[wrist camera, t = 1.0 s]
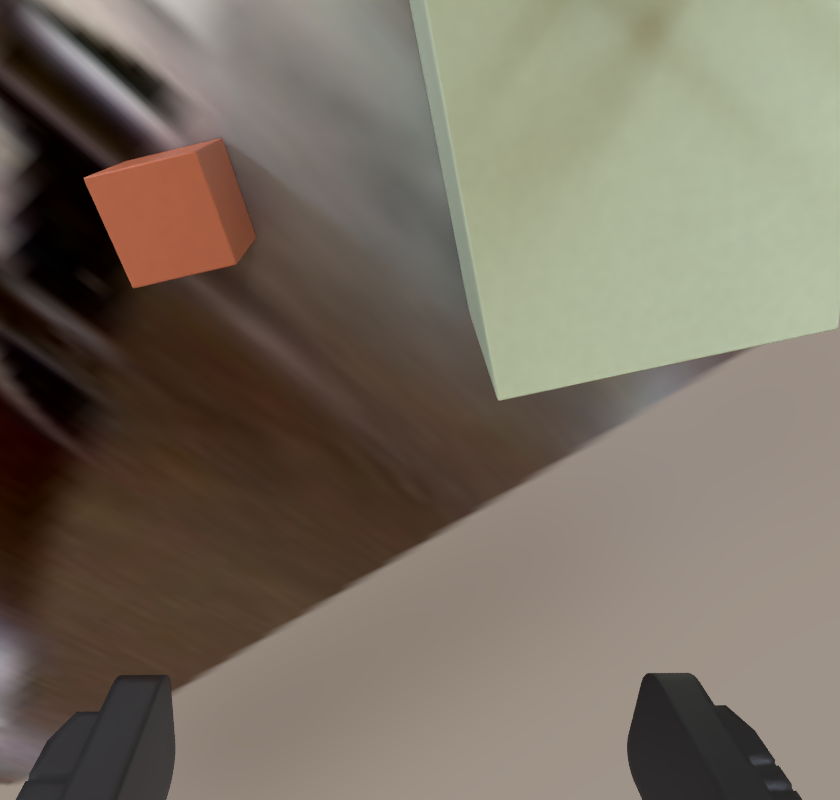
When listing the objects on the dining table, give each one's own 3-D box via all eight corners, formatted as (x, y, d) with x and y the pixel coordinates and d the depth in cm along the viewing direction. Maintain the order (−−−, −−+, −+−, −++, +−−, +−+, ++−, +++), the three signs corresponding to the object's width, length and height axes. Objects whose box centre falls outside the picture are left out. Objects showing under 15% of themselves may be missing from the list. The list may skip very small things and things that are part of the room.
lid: (406, -91, 18) (412, -140, 13) (873, -214, 17) (1042, -309, 13) (495, 392, 25) (517, 463, 21) (825, 321, 24) (922, 379, 20)
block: (125, 161, 29) (82, 177, 25) (222, 137, 29) (195, 150, 25) (165, 259, 31) (132, 289, 27) (256, 237, 31) (236, 265, 27)
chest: (404, -22, 26) (412, -56, 18) (720, -103, 25) (868, -175, 18) (469, 312, 33) (494, 391, 25) (718, 257, 32) (825, 321, 24)
